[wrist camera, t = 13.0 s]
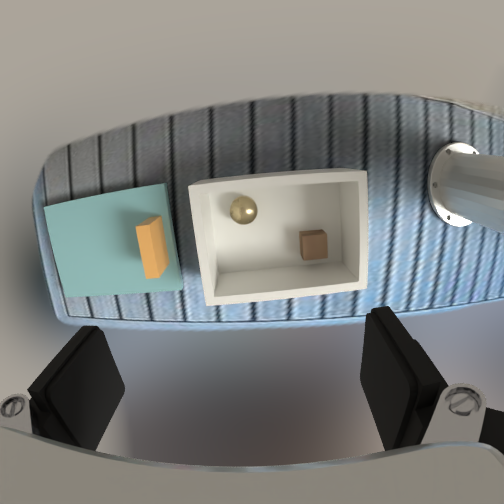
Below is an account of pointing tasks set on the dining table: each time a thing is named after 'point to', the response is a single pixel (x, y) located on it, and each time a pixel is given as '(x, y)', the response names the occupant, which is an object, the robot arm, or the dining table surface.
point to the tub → (281, 234)
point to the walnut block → (313, 244)
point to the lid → (115, 243)
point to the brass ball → (243, 210)
